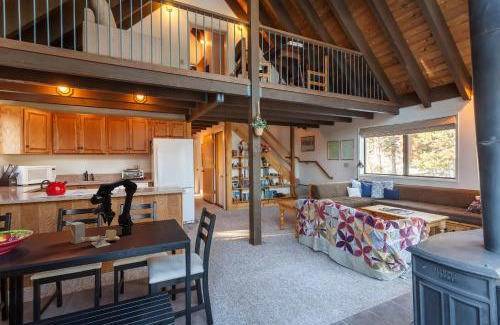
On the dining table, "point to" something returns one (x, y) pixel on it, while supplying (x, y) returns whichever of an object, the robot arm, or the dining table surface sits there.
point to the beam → (97, 238)
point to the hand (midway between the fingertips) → (106, 224)
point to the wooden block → (110, 233)
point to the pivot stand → (100, 243)
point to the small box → (76, 232)
